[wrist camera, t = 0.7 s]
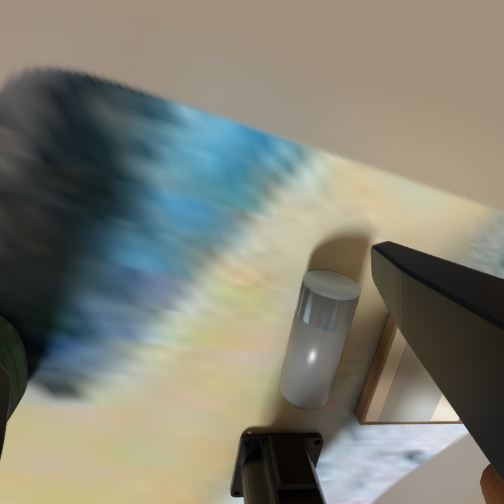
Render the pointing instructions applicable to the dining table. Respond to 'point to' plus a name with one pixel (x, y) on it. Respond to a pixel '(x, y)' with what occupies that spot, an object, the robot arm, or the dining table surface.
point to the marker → (318, 337)
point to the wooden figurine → (492, 486)
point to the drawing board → (401, 387)
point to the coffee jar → (13, 361)
